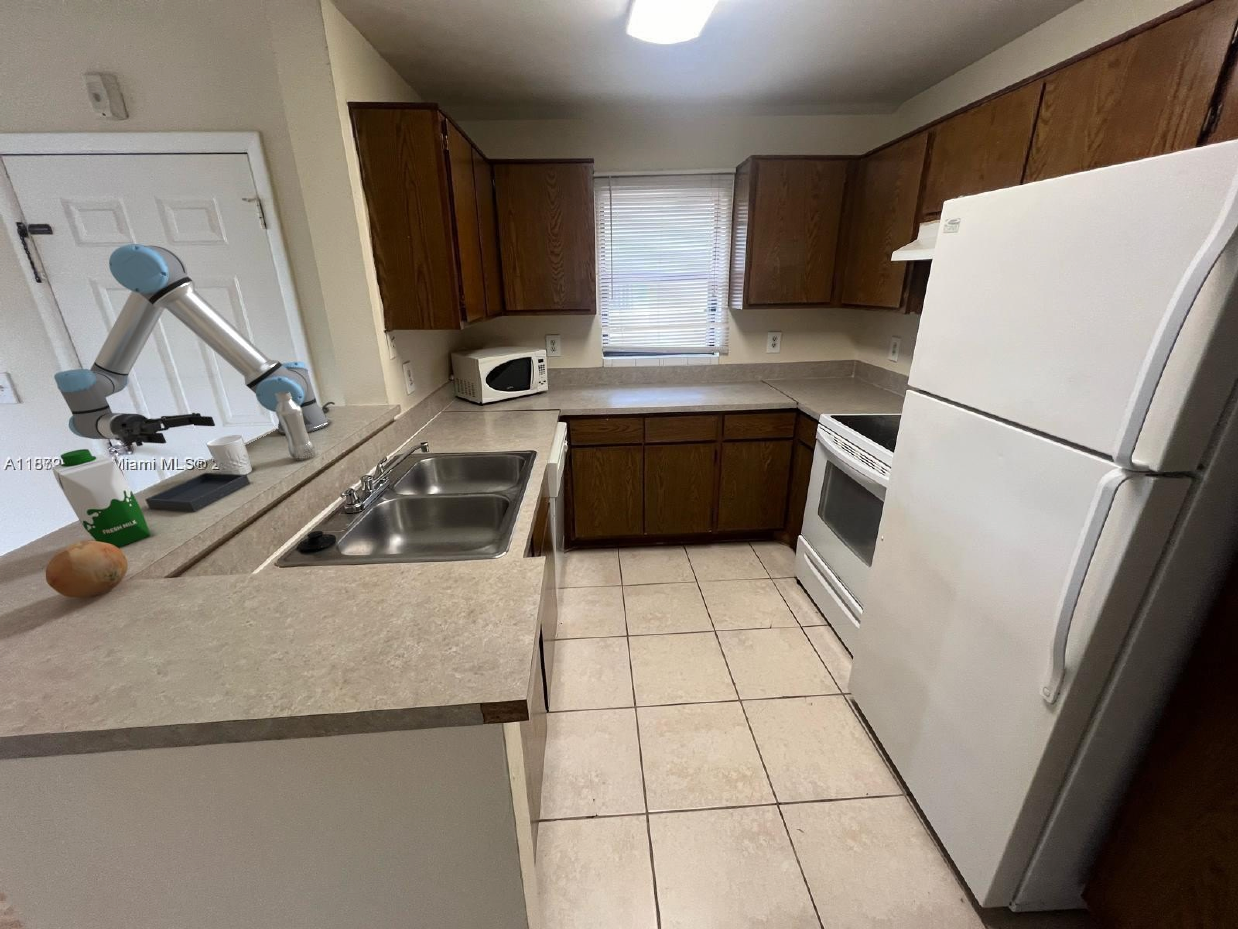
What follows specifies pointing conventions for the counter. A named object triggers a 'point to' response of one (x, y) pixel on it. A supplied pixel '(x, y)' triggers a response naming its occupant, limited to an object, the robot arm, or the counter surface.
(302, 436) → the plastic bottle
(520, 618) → the counter surface
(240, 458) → the white cup
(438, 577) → the counter surface
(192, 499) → the baking tray
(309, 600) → the counter surface
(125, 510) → the milk carton
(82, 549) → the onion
